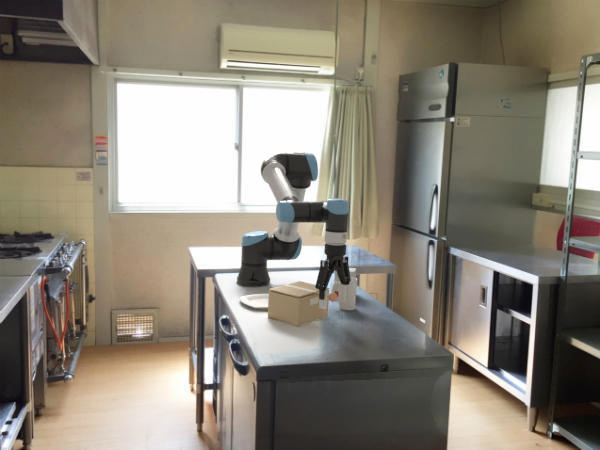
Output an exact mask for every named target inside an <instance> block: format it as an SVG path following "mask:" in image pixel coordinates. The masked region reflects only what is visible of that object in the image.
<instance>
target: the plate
mask: <svg viewBox="0 0 600 450" xmlns="http://www.w3.org/2000/svg"><path fill="white" fill-rule="evenodd" d="M268 298H269V293H255V294H248V295H243V296H242V295H241V296H240V297H239V300H240V302H241V303H242V304H244V305H245V306H248V307H250V308H252V309H255V310H268Z"/></svg>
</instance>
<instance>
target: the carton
mask: <svg viewBox="0 0 600 450" xmlns="http://www.w3.org/2000/svg"><path fill="white" fill-rule="evenodd" d="M268 294H269V298H268V309H267V319H271V320H274V321H277V322H281V323H284V324H287V325H291V326H295V327H300V326H304V325H306V324H308V323H311V322H314V321H318V320H320V319H321V320H322V319H323V318H326V317H328V316H329V304H330V303H329V301H330V300H329V298H328V297H327V309H322V308H319V295H317V294H311V295H307V296H304V297H300V298H298V297H294V296H290V295H286V294H282V293H278V292H274V291H270V290H268ZM327 294H328V295H329V294H330V289H328V292H327Z"/></svg>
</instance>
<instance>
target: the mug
mask: <svg viewBox="0 0 600 450" xmlns="http://www.w3.org/2000/svg"><path fill="white" fill-rule="evenodd" d="M346 278H347V277H346ZM350 278H351V281H350V284H349V285H347V286H346V300H345V303H341V302H338V297H337V300H336V301H334V302H335V303H336V302H338V308H339V309H340V310H342V311H353V310H355V309H356V301H357V300H356V299H357V287H358V278H357V277H356V278H354V277H350ZM339 284H341V283H340V282H337V281H335V282H334V281H333V285H332V286H331V292H330V293H332V292H334V289H335V287H336V286H337V285H339Z"/></svg>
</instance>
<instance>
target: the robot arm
mask: <svg viewBox="0 0 600 450" xmlns="http://www.w3.org/2000/svg"><path fill="white" fill-rule="evenodd" d="M260 174H261V177H262V180H263V181H264V182H265V183H266V184H267V185H268V186H269V189H270V190H271V192H272V194H273V196H274V198H275V201H276V202H277V204H276V207H275V215H276V220H277V221H278V227H276V228H275V229H274V231H273V234H269V232H268V231H265V230H257V231H251V232H250V231H249V232H247V233H244V234H243V235H242V240H241V258H240V262H241V263H240V269H239V272H238V275H237V277H236V283H237V284H238V285H240V286H245V287H255V288H256V287H266V286H269V285H271V277H270V275H269V270H268V261H291V260H296V259H297V258H298V257H299V256H300V254H301V251H302V245H303V241H302V236H301V235H300V232H298V227H299V224H301V223H316V224H317V223H319V224H321V223H325V233H324V242H325V244H324V251H323V252H324V253H323V254H324V255H326V258H325V260H324V259H323V260H322V259H321V260H320V261H319V264H320V265H319V271H318V274H317V279H316V283H315V285H316V286H315V288H316V289H319V308H322V309H327V292H328V290H329V289H328V290H326V288H327V287H328V285H329V283H330V280H331V278H332V276H333V274H335V270H336V271H337V274H338V277H339V280H340V283H341V284H339V291H338V297H337V298H338V303H339V302H341V303H345V300H346V286H347V285H349V284H350V281H351V278H350V271H349V268H350V265H349V256H347V242H348V241H347V237H348V235H347V234H348V225H349V222H348V221H349V211H350V208H349V201H348V199H347V198H346V199H345V198H335V197H333V198H329V199H327V200H319V201H307V200H306V201H304V200H305V196H306V195H305V194H306V190H307V189H309V188H310V187H311V184H312V182H316V181H317V179H318V178H319V177H318V176H319V166H318V161H317V157H316V156H315V154H314V153H309V152H293V151H275V152H272V153H271V154H269V155H268V156H266V158H265V159H264V160H263V162H262V164H261V167H260ZM346 277H347V278H346Z"/></svg>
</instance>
